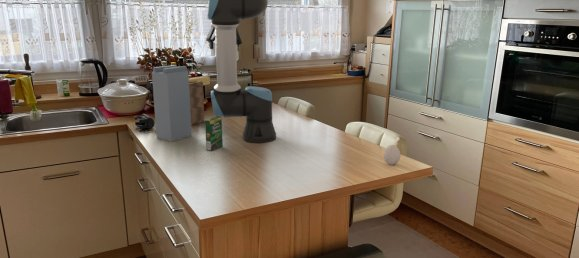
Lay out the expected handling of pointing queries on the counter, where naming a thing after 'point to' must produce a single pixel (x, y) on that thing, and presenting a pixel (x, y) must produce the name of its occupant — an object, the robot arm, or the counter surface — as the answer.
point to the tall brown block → (196, 102)
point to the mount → (171, 102)
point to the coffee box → (213, 133)
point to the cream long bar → (200, 80)
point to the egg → (392, 154)
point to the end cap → (144, 123)
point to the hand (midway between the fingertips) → (224, 56)
